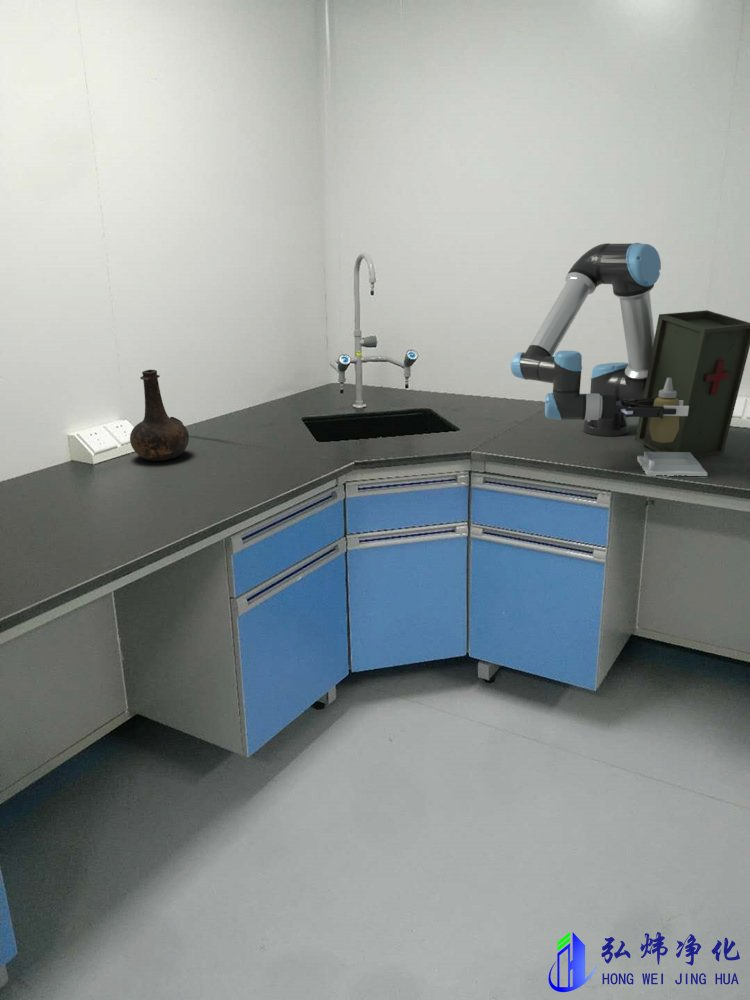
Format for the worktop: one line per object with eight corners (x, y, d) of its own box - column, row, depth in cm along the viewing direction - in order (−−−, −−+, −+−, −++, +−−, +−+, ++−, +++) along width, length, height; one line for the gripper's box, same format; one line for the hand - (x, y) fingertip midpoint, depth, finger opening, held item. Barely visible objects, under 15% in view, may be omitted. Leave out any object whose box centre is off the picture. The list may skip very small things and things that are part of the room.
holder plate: (637, 459, 227) (638, 446, 226) (693, 460, 225) (694, 447, 223) (647, 475, 212) (648, 461, 211) (706, 477, 210) (708, 462, 209)
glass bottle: (201, 455, 242) (192, 368, 233) (153, 469, 230) (141, 377, 221) (169, 446, 254) (159, 363, 244) (122, 459, 241) (109, 371, 232)
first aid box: (675, 462, 226) (705, 329, 208) (634, 439, 241) (659, 314, 223) (722, 453, 232) (755, 324, 214) (680, 432, 247) (707, 310, 229)
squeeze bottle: (682, 439, 216) (689, 377, 210) (670, 445, 210) (677, 381, 204) (655, 435, 221) (661, 374, 215) (642, 441, 216) (648, 378, 210)
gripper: (595, 412, 226) (676, 413, 222) (603, 428, 208) (691, 429, 204) (597, 387, 223) (679, 388, 219) (605, 401, 205) (694, 402, 202)
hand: (685, 408), depth 212 cm, fingers closed on squeeze bottle, 6 cm apart
